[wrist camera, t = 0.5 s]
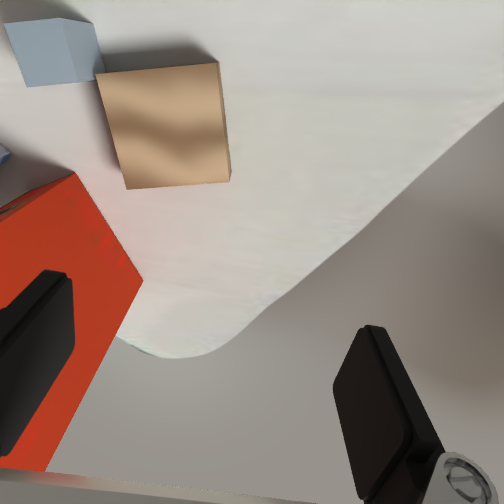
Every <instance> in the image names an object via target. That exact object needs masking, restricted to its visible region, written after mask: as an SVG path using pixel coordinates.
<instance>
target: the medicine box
mask: <svg viewBox="0 0 504 504" xmlns="http://www.w3.org/2000/svg"><path fill="white" fill-rule="evenodd" d="M9 155H10V153H9V151H8V150H7V149H6V148H4V147H3V146H2V145H1V144H0V165H1V164H2V163H3V162H4V161H5V159H6V158H7V157H8V156H9Z"/></svg>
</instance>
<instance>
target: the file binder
mask: <svg viewBox="0 0 504 504" xmlns="http://www.w3.org/2000/svg"><path fill="white" fill-rule="evenodd" d="M46 269H47V270H53V271H59V272H64V273H66V274H67V278H71V279H72V282H73V303H74V324H75V347H74V350H73V352H72V354H71V356H70V357H69V359H68V361H67V362H66V364H65V366H64V367H63V369H62V370H61V372H60V374H59V375H58V377H57V378H56V380H55V382H54V383H53V385H52V386H51V388H50V390H49V391H48V393H47V395H46V396H45V398H44V399H43V401H42V403H41V404H40V406H39V407H38V409H37V411H36V412H35V414H34V416H33V417H32V419H31V420H30V422H29V424H28V425H27V427H26V428H25V430H24V432H23V433H22V435H21V436H20V438H19V440H18V441H17V443H16V445H15V446H14V448H13V449H12V451H11V452H10V453H9V455H8V456H6V457H4V456H1V458H0V468H10V469H21V470H32V471H42V472H45V470H46V468H47V466H48V464H49V462H50V460H51V458H52V456H53V454H54V452H55V450H56V449H57V447H58V445H59V443H60V441H61V439H62V437H63V435H64V433H65V431H66V429H67V427H68V425H69V424H70V422H71V420H72V418H73V416H74V414H75V412H76V410H77V408H78V406H79V404H80V402H81V400H82V398H83V396H84V394H85V393H86V391H87V389H88V387H89V385H90V383H91V381H92V379H93V377H94V375H95V373H96V371H97V369H98V367H99V366H100V364H101V362H102V360H103V358H104V356H105V354H106V352H107V350H108V348H109V346H110V344H111V342H112V340H113V339H114V337H115V335H116V333H117V331H118V329H119V327H120V325H121V323H122V321H123V319H124V317H125V315H126V314H127V312H128V310H129V308H130V306H131V304H132V302H133V300H134V298H135V296H136V294H137V292H138V290H139V288H140V286H141V285H142V283H143V279H142V278H141V276H140V274H139V273H138V271H137V270H136V268H135V266H134V265H133V263H132V262H131V260H130V259H129V257H128V255H127V254H126V252H125V251H124V249H123V247H122V246H121V244H120V243H119V241H118V239H117V238H116V236H115V235H114V233H113V232H112V230H111V228H110V227H109V225H108V224H107V222H106V220H105V219H104V217H103V216H102V214H101V212H100V211H99V209H98V208H97V206H96V205H95V203H94V201H93V200H92V198H91V197H90V195H89V193H88V192H87V190H86V189H85V187H84V185H83V184H82V182H81V181H80V179H79V178H78V176H77V174H76V173H75V174H72V175H69V176H67V177H64V178H62V179H59V180H57V181H54V182H52V183H49V184H46V185H44V186H41V187H39V188H36V189H34V190H31V191H29V192H27V193H25V194H23V195H21V196H20V197H18V198H16V199H15V200H13V201H11V202H9V203H8V204H6V205H4V206H3V207H1V208H0V309H1V308H4V307H7V306H8V305H9V304H10V303H11V302H12V301H13V300H14V299H15V298H16V297H17V296H18V295H19V294H20V293H21V292H22V291H23V290H24V289H25V288H26V287H27V286H28V285H29V284H30V283H31V282H32V281H33V280H34V279H35V278H36V277H37V276H38V275H39V274H40V273H41V272H42V271H43V270H46Z"/></svg>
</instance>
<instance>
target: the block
mask: <svg viewBox="0 0 504 504" xmlns="http://www.w3.org/2000/svg"><path fill="white" fill-rule="evenodd" d="M4 26H5V29H6V32H7V34H8V37H9V40H10V43H11V45H12V48H13V51H14V54H15V56H16V59H17V62H18V64H19V67H20V70H21V73H22V75H23V78H24V81H25V84H26V86H27V87H35V86H46V85H56V84H67V83H78V82H84V81H91V80H97V79H96V75H95V74H101V73H106V71H105V67H104V63H103V59H102V56H101V52H100V48H99V44H98V40H97V36H96V32H95V29H94V25H93V24H92V23H86V22H81V21H75V20H69V19H64V18H52V19H42V20H32V21H23V22H13V23H4Z"/></svg>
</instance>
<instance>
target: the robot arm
mask: <svg viewBox="0 0 504 504" xmlns="http://www.w3.org/2000/svg"><path fill="white" fill-rule="evenodd" d="M74 347H75V324H74V303H73V282H72V279H71V278H67V274H66V273H64V272H59V271H53V270H47V269H46V270H43V271H42V272H41V273H40V274H39V275H38V276H37V277H36V278H35V279H34V280H33V281H32V282H31V283H30V284H29V285H28V286H27V287H26V288H25V289H24V290H23V291H22V292H21V293H20V294H19V295H18V296H17V297H16V298H15V299H14V300H13V301H12V302H11V303H10V304H9V305H8V306H7V307H4V308H1V309H0V458H1V456H4V457H6V456H8V455H9V453H10V452H11V451H12V449H13V448H14V446H15V445H16V443H17V441H18V440H19V438H20V436H21V435H22V433H23V432H24V430H25V428H26V427H27V425H28V424H29V422H30V420H31V419H32V417H33V416H34V414H35V412H36V411H37V409H38V407H39V406H40V404H41V403H42V401H43V399H44V398H45V396H46V395H47V393H48V391H49V390H50V388H51V386H52V385H53V383H54V382H55V380H56V378H57V377H58V375H59V374H60V372H61V370H62V369H63V367H64V366H65V364H66V362H67V361H68V359H69V357H70V356H71V354H72V352H73V350H74ZM333 394H334V399H335V403H336V407H337V411H338V415H339V419H340V424H341V428H342V432H343V436H344V440H345V445H346V449H347V453H348V457H349V462H350V466H351V470H352V474H353V478H354V482H355V487H356V491H357V494H358V497H359V498H360V499H361V500H363V501H364V504H499V501H498V494H497V491H496V488H495V486H494V484H493V483H492V481H491V480H490V478H489V476H488V475H487V474H486V473H485V472H484V471H483V470H482V469H481V467H479V466H478V465H477V464H476V463H474V462H473V461H472V460H471V459H469V458H467V457H465V456H464V455H461V454H458V453H456V452H445V450H444V448H443V446H442V443H441V441H440V439H439V437H438V435H437V433H436V431H435V429H434V427H433V425H432V423H431V421H430V419H429V417H428V415H427V413H426V411H425V409H424V406H423V405H422V402H421V400H420V398H419V396H418V395H417V392H416V390H415V388H414V386H413V384H412V382H411V380H410V378H409V376H408V374H407V372H406V370H405V368H404V366H403V364H402V362H401V359H400V358H399V356H398V353H397V351H396V349H395V347H394V345H393V343H392V341H391V339H390V337H389V335H388V333H387V331H386V329H385V328H383V327H378V326H372V325H365V326H364V328H360V329H359V330H358V332H357V334H356V336H355V338H354V340H353V342H352V344H351V347H350V349H349V351H348V353H347V355H346V357H345V359H344V362H343V364H342V366H341V368H340V370H339V372H338V374H337V376H336V378H335V381H334V383H333ZM0 504H316V503H308V502H300V501H292V500H283V499H276V498H268V497H260V496H251V495H243V494H235V493H226V492H218V491H210V490H201V489H192V488H184V487H176V486H167V485H158V484H150V483H141V482H132V481H124V480H114V479H105V478H96V477H88V476H79V475H70V474H61V473H53V472H42V471H32V470H21V469H10V468H0Z"/></svg>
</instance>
